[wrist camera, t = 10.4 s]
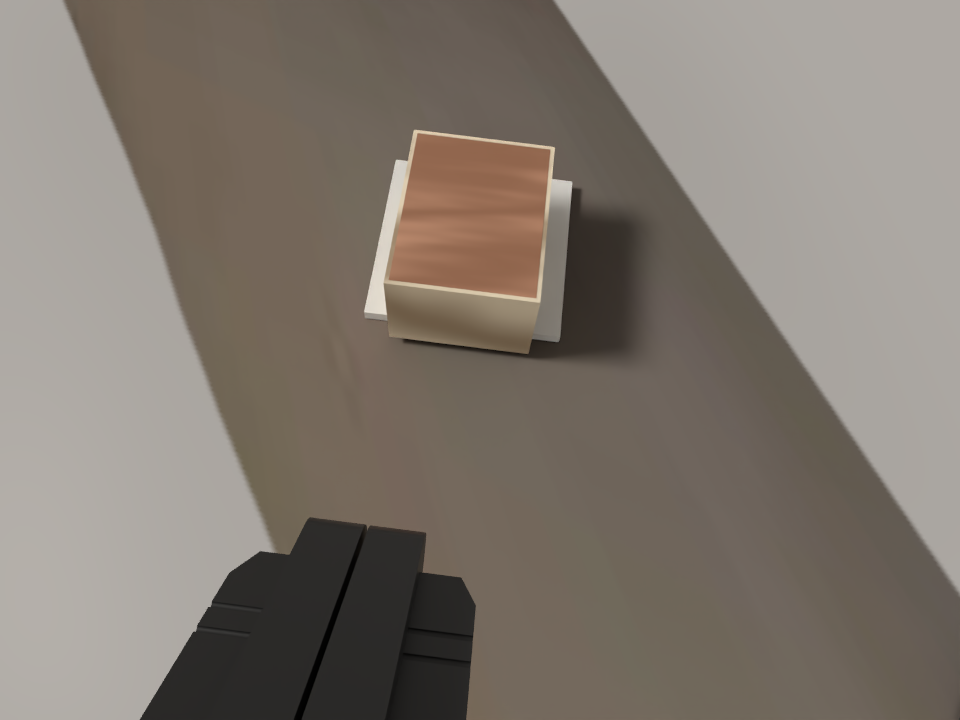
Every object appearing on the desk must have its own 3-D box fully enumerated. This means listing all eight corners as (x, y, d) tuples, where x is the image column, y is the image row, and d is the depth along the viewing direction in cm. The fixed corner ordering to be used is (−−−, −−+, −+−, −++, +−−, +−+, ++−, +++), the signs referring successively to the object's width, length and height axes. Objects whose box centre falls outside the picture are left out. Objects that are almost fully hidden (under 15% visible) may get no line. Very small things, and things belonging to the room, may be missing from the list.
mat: (558, 342, 40) (560, 336, 40) (365, 318, 40) (364, 312, 40) (570, 188, 45) (572, 181, 44) (396, 166, 45) (396, 159, 44)
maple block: (540, 302, 35) (554, 147, 39) (383, 282, 35) (414, 129, 39) (528, 353, 39) (542, 209, 43) (389, 336, 39) (416, 193, 43)
